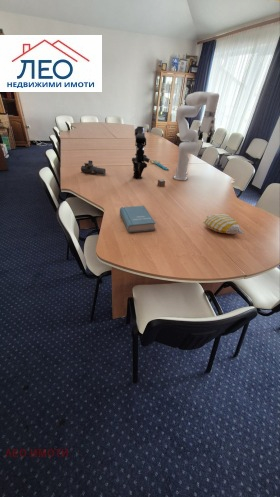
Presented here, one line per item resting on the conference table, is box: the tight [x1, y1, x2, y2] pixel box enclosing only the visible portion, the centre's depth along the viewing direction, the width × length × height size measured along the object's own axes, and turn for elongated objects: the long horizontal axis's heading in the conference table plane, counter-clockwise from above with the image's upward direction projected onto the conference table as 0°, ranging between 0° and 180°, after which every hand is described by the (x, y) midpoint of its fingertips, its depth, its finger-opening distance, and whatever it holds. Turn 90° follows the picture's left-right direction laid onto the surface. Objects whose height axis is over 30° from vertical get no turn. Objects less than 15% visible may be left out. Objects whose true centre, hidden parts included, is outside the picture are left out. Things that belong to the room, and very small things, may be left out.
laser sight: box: [80, 160, 107, 176], centre depth 201 cm, size 10×22×10 cm, turn 78°
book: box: [119, 205, 156, 233], centre depth 136 cm, size 23×16×5 cm
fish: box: [203, 213, 245, 235], centre depth 133 cm, size 25×8×20 cm
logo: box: [150, 160, 169, 171], centre depth 239 cm, size 34×10×1 cm, turn 16°
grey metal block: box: [157, 178, 166, 188], centre depth 189 cm, size 5×4×5 cm
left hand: (138, 173), depth 183 cm, fingers open, 9 cm apart
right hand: (203, 141), depth 164 cm, fingers open, 9 cm apart
